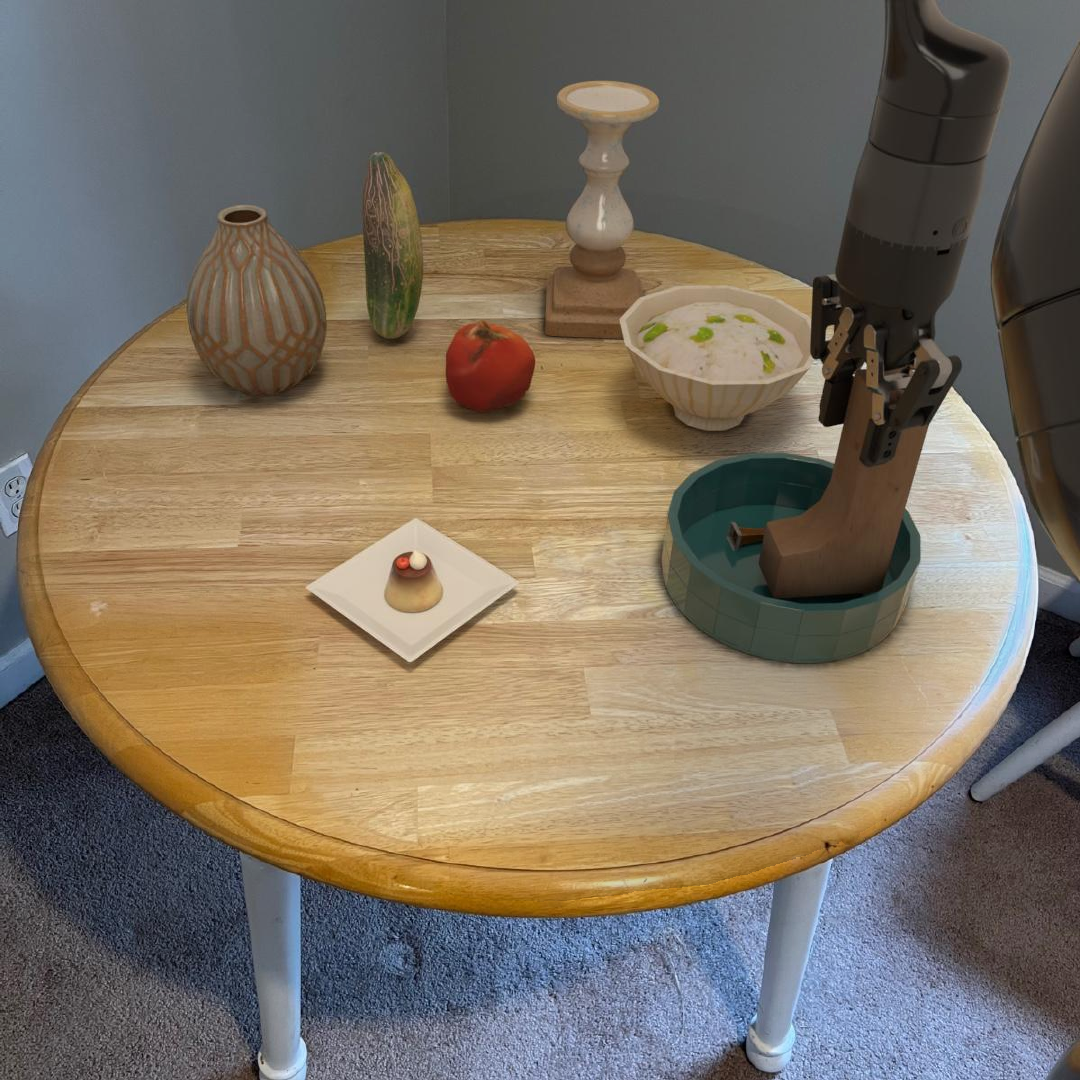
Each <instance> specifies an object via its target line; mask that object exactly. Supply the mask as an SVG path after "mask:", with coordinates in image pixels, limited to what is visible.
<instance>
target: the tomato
mask: <svg viewBox="0 0 1080 1080" xmlns="http://www.w3.org/2000/svg"><path fill="white" fill-rule="evenodd" d="M452 337H453V338H452V339H451V342H450V343H449V345H448V348H447V350H446V354H445V379H446V385H447V389H448V392H449V395H450V397H451V398H452V400H453V401H454V402H455V403H456V404H458V405H460V406H463V407H464V408H467V409H471V410H474V411H477V412H479V413H485V412H489V411H495V410H498V409H502V408H504V407H507V406H510V405H513V404H515V403H517V402H519V401H520V400H521V399H522V398H523V397H524V395H526V393H527V392H528V391H529V389H530V388H531V384H532V379H533V376H534V372H535V367H536V357H535V354H534V352H533V350H532V348H531V347H530V345H529V344H528V342H527V341H526V340H525V339H524V338H523V337H522V336H521V335H519V334H517V333H515V332H514V331H512V330H510V329H508V328H506V327H505V326H501V325H497V324H494V323H490V322H487V321H486V320H485V319H480V320H479V321H477V322H476V323H475V322H473V323H468V324H465V325H464V326H462V327H460V329H458V330H457V331H456V332H455V334H454V336H452Z"/></svg>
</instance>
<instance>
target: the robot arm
mask: <svg viewBox="0 0 1080 1080" xmlns="http://www.w3.org/2000/svg"><path fill="white" fill-rule="evenodd" d="M883 40H884V42H883V53H882V61H881V69H880V76H879V79H878V86H877V92H876V98H875V101H874V106H873V111H872V115H871V120H870V123H869V124H870V125H869V130H868V135H867V138H866V142H865V145H864V148H863V151H862V153H861V156H860V159H859V162H858V164H857V167H856V171H855V175H854V179H853V184H852V187H851V188H852V189H851V192H850V198H849V202H848V207H847V212H846V216H845V221H844V226H843V232H842V236H841V240H840V245H839V250H838V254H837V258H836V263H835V269H834V273H832V274H826V275H820V276H815V277H814V278H813V281H812V292H811V295H812V296H811V317H810V318H811V341H810V353H811V356H812V358H813V359H815V361H816V360H820V362H821V363H822V366H821V374H822V376H823V378H824V382H823V386H822V387H823V388H822V391H821V395H820V396H821V397H820V401H819V405H818V406H819V413H818V419H817V420H818V422H819V423H820V424H821V425H822V426H823V427H824V428H830V427H836V426H839V425H843V424H844V419H845V415H846V411H847V406H848V402H849V397H850V393H851V389H852V384H853V380H854V376H855V372H856V371H857V370H859V369H863V366H864V364H866V368H865V369H866V386H867V388H868V389H869V390H871V391H872V419H869V422H868V426H867V430H866V434H865V438H864V442H863V445H862V449H861V453H860V457H859V460H860V461H861V462H862V463H863V464H864V465H865V466H866V467H873V466H877V465H882V464H885V463H887V462H888V461H891V460H892V459H893V458H894V456H895V453H896V449H897V446H898V445H897V444H898V442H899V438H900V435H901V431H903V430H905V429H909V428H914V427H918V426H926V425H929V426H930V424H931V423H932V420H933V419H934V417H935V415H936V413H937V412H938V410H939V409H940V407H941V405H942V404H943V402H944V400H945V399H946V397H947V396H948V394H949V392H950V390H951V389H952V387H953V385H954V383H955V382H956V380H957V379H958V377H959V375H960V373H961V371H962V370H963V369H962V368H963V364H962V360H961V358H960V357H959V356H958V355H955V354H954V355H949V356H945V354H944V353H943V352H942V351H941V349H940V348H939V347H938V345H937V344H936V343H935V339H936V316H937V315H936V314H937V312H938V310H939V309H940V308H941V306H942V305H943V304H944V303H945V302H946V301H947V300H948V299H949V297H951V295H952V294H953V292H954V289H955V287H956V283H957V280H958V279H957V278H958V275H959V272H960V268H961V265H962V261H963V258H964V254H965V251H966V247H967V245H968V240H969V238H970V233H971V230H972V226H973V223H974V219H975V217H976V216H975V215H976V213H977V209H978V205H979V203H980V199H981V195H982V190H983V184H984V178H985V171H986V165H987V159H988V155H989V151H990V148H991V145H992V141H993V138H994V134H995V130H996V128H997V124H998V121H999V117H1000V114H1001V110H1002V106H1003V103H1004V99H1005V95H1006V91H1007V87H1008V84H1009V81H1010V76H1011V69H1012V68H1011V67H1012V61H1011V56H1010V54H1009V52H1008V51H1007V50H1006V48H1005V47H1004V46H1002V45H1001V44H1000V43H998V42H997V41H995V40H992V39H990V38H988V37H986V36H984V35H981V34H979V33H976V32H973V31H971V30H968V29H966V28H964V27H961V26H958V25H957V24H955V23H953V22H951V20H948V19H947V18H946V17H945V16H944V15H943V14H942V12H941V11H940V8H939V6H938V4H937V2H936V0H884V39H883ZM993 244H994V245H993V250H992V257H991V263H990V293H991V299H992V306H993V312H994V318H995V325H996V329H997V330H999V331H998V333H997V336H998V342H999V349H1000V354H1001V361H1002V367H1003V373H1004V379H1005V384H1006V391H1007V396H1008V402H1009V403H1008V404H1009V408H1010V415H1011V421H1012V427H1013V432H1014V437H1015V439H1016V440H1015V444H1016V445H1015V446H1016V451H1017V456H1018V461H1019V466H1020V470H1021V475H1022V479H1023V484H1024V487H1025V489H1026V492H1027V495H1028V498H1029V501H1030V504H1031V506H1032V508H1033V510H1034V512H1035V514H1036V516H1037V518H1038V521H1039V522H1040V525H1041V527H1042V529H1044V531H1045V533H1046V535H1047V536H1048V538H1049V539H1050V541H1051V543H1052V544H1053V547H1054V548H1055V549H1056V551H1057V552H1058V553H1059V555H1060V556H1061V558H1062V559H1063V561H1064V562H1065V563H1066V565H1067V566H1068V568H1069V569H1070V570H1071V572H1072V573H1073V574H1074V576H1075V577H1076V578H1077V579H1078V581H1080V37H1079V38H1078V40H1077V42H1076V44H1075V47H1074V49H1073V51H1072V53H1071V55H1070V57H1069V59H1068V61H1067V62H1066V65H1065V67H1064V69H1063V71H1062V73H1061V76H1060V78H1059V79H1058V82H1057V84H1056V85H1055V88H1054V91H1053V93H1052V94H1051V97H1050V99H1049V101H1048V103H1047V105H1046V108H1045V109H1044V112H1043V114H1042V115H1041V118H1040V120H1039V122H1038V124H1037V126H1036V129H1035V131H1034V133H1033V136H1032V139H1031V140H1030V143H1029V145H1028V148H1027V150H1026V152H1025V155H1024V157H1023V159H1022V162H1021V165H1020V167H1019V169H1018V171H1017V173H1016V176H1015V178H1014V181H1013V184H1012V186H1011V189H1010V192H1009V194H1008V197H1007V200H1006V203H1005V206H1004V209H1003V211H1002V215H1001V217H1000V221H999V225H998V228H997V232H996V235H995V239H994V243H993ZM829 326H830V327H831V326H833V335H832V336H831V338H830V339H827V329H828V328H829ZM826 339H827V340H826ZM900 368H902V370H901V371H900V372H899V373H897V374H893V375H888V376H884V371H890V370H895V369H900ZM893 390H897V392H896V404H891V405H889V394H890V392H891V391H893ZM1044 1080H1080V1037H1078V1038H1077V1039H1076V1040H1075V1041H1074V1042H1073V1043H1072V1044H1070V1046H1069V1047H1068V1048H1067V1049H1065V1051H1064V1052H1063V1053H1062V1054H1061V1056H1060V1057H1059V1058H1058V1059H1057V1060H1056V1062H1055V1063H1054V1065H1053V1066H1052V1067H1051V1068H1050V1070H1049V1072H1048V1073H1047V1075H1046V1077H1045V1078H1044Z"/></svg>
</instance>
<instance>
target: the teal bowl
mask: <svg viewBox="0 0 1080 1080" xmlns="http://www.w3.org/2000/svg"><path fill="white" fill-rule="evenodd" d="M834 463H835V462H832V461H828V460H825V459H822V458H818V457H813V456H807V455H801V454H794V453H788V452H748V453H744V454H738V455H734V456H729V457H724V458H720V459H716V460H714V461H713V462H710V463H709V464H707V465H705V466H702V467H701V468H699V469H697V470H695V471H693V472H691V473H690V474H689V475H688V476H687V477H686V478H685V479H684V480H683V481H682V482H681V484H679V486H678V487H677V488H676V489H675V490H674V491H673V493H672V497H671V501H670V503H669V507H668V511H667V513H666V514H667V517H666V524H665V529H664V530H665V532H664V539H663V547H662V555H661V562H660V563H661V568H662V577H663V581H664V582H663V583H664V585H665V587H666V590H667V593H668V595H669V597H670V598H671V600H672V601H673V602H672V603H674V604H675V606H676V607H677V608H678V610H679V611H680V612H681V614H682V615H683V616H684V617H685V618H686V619H687V620H689V621H690V623H692V625H694V626H695V627H697V629H699V630H700V631H702V632H703V633H704V634H706V635H707V636H709V637H711V638H712V639H714V640H716V641H718V642H719V643H721V644H724V645H726V646H727V647H730V648H732V649H734V650H736V651H740V652H743V653H744V654H748V655H751V656H754V657H759V658H762V659H766V660H772V661H777V662H783V663H795V664H820V663H829V662H836V661H840V660H844V659H849V658H852V657H854V656H857V655H860V654H862V653H864V652H866V651H868V650H870V649H872V648H874V647H875V646H877V645H878V644H880V643H881V642H882V641H883V640H885V639H886V638H887V637H888V636H889V635H890V634H891V633H892V632H893V631H894V629H895V627H896V626H897V625H898V623H899V621H900V618H901V616H902V614H903V613H904V611H905V609H906V606H907V603H908V599H909V597H910V594H911V591H912V588H913V585H914V582H915V579H916V576H917V573H918V570H919V567H920V563H921V561H922V559H921V556H922V553H921V551H922V549H921V548H922V546H921V541H922V540H921V533H920V531H919V530H918V528H917V526H916V524H915V522H914V519H913V518H912V516H911V514H910V512H909V510H907V508H905V510H904V514H903V517H902V521H901V525H900V528H899V532H898V535H897V539H896V542H895V546H894V549H893V553H892V556H891V559H890V563H889V566H888V570H887V573H886V577H885V580H884V584H883V587H882V589H881V590H880V591H878V592H873V593H857V594H842V595H826V596H810V597H795V598H779V599H776V598H773V597H772V595H771V592H770V590H769V588H768V585H767V583H766V581H765V578H764V576H763V573H762V571H761V569H760V566H759V558H760V553H761V548H762V543H763V541H757V542H752V543H746V544H743V545H739V548H738V550H735V551H733V549H732V547H731V545H730V543H729V541H728V539H727V535H728V531H729V527H730V523H731V522H736V524H737V526H738V527H742V528H754V529H765V527H766V524H767V523H768V522H770V521H775V520H780V519H785V518H790V517H795V516H800V515H801V514H803V513H804V512H805V511H807V510H808V509H809V508H811V507H812V506H813V505H815V504H816V503H817V502H819V501H820V500H821V498H822V496H823V494H824V492H825V490H826V488H827V486H828V485H829V483H830V481H831V476H832V472H833V467H834Z"/></svg>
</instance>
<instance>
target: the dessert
mask: <svg viewBox="0 0 1080 1080" xmlns="http://www.w3.org/2000/svg"><path fill="white" fill-rule="evenodd" d="M519 584H520V581H519V580H518V579H516V578H514V577H512V576H511V575H509V574H508V573H506V572H505V571H503V570H501V569H500V568H498V566H495V565H494V564H492V563H490V562H488V561H487V560H485V559H484V558H483V557H481V556H479V555H478V554H476V553H475V552H473V551H471V550H470V549H468V548H467V547H465V546H463V545H461V544H459V543H458V542H456V541H455V540H453V539H451V538H450V537H449V536H447V535H445V534H443V533H442V532H441V531H439V530H437V529H435V528H434V527H433V526H431V525H430V524H428V523H426V522H424V521H423V520H421V519H420V518H418V517H414V518H412V519H411V520H409V521H407V522H406V523H405V524H402V525H401V526H400V527H398V528H397V529H395V530H393V531H391V532H390V533H388V534H387V535H385V536H383V537H382V538H380V539H379V540H377V541H376V542H374V543H373V544H370V545H369V546H368V547H366V548H365V549H362V550H361V551H360V552H358V553H357V554H355V555H353V556H351V557H350V558H349V559H347V560H345V561H344V562H342V563H341V564H338V566H335V567H334V568H332V569H330V570H329V571H328V572H326V573H324V574H323V575H322V576H319V577H318V578H317V579H315V580H314V581H312V582H310V583H309V584H307V585H306V586H305V589H307V590H308V591H309V592H311V593H312V594H314V596H316V597H318V598H319V599H321V601H323V602H325V604H327V605H329V606H330V607H331V608H333V609H335V610H336V611H337V612H338V613H340V614H341V615H342V616H344V617H346V618H347V620H350V621H351V622H352V623H354V624H355V625H356V626H358V627H359V628H361V629H362V630H363V631H365V632H366V633H368V634H369V635H370V636H372V637H373V638H375V639H376V640H378V642H380V643H381V644H383V645H384V646H386V647H387V648H389V649H390V650H391V651H393V653H395V654H397V655H398V656H400V658H402V659H404V660H405V661H407V662H408V663H412V662H414V661H415V660H416V659H418V658H419V657H420V656H422V655H423V654H424V653H426V652H427V651H429V650H431V648H433V647H434V646H436V645H437V644H438V643H439V642H441V641H443V640H444V639H445V638H446V637H448V636H449V635H451V634H452V633H453V632H455V631H456V630H457V629H459V628H460V627H461V626H463V625H465V624H466V623H467V622H468V621H470V620H472V619H473V618H474V617H475V616H477V615H478V614H479V613H480V612H483V610H485V609H486V608H487V607H489V606H490V605H492V604H493V603H495V602H496V601H497V600H498V599H500V598H501V597H502V596H504V595H505V594H506V593H508V592H509V591H511V590H512V589H514V588H515V587H516V586H518V585H519Z"/></svg>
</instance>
